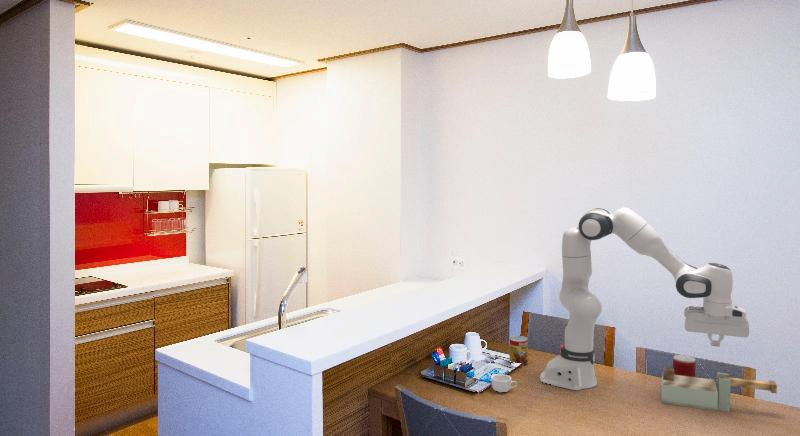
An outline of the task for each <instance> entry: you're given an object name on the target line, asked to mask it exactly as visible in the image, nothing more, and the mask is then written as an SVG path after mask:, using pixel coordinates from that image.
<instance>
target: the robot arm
mask: <svg viewBox="0 0 800 436" xmlns="http://www.w3.org/2000/svg"><path fill="white" fill-rule="evenodd" d="M611 234H614V235H616V236H617V237H618V238H620V239H621V240H622V242H623V243H625V244H626V246H627V247H629V248H630V249H631V250H633V251H634V252H636V253H637V254H639V255H641V256H648V257H651V258H652V259H654V260H655V261H657V262H658V263H659V264H660V265H662V267H664V268H665V270H667V271H668V272H669V273H671V275H672V276H673V278H674V281H675V289H676V291H677V292H678V294H679V295H681V296H683V297H684V298H687V299H698V298H699V299H700V298H703V302H702V306H694V305H692V306H691V305H690V306H687V307H686V308H684V311H683V316H684V318H685V319H684V330H685V331H686V332H690V333H691V332H692V333H698V334H699V333H700V334H706V335H707V337H708V339H709V341H710V344H709V345H710V346H711V347H718V348H720V347H721V342H722V341H723V340H724V339H725V336H728V337H739V338H748V337H749V336H750V324H749V320H748V319H747V311H746V310H745V309H744V308H742V307H740V306H737V305H735V304H733V303H732V301H733V300H732V292H733V281H734V279H733V272H732V270H731V269H730V268H729V267H728V266H727V265H724V264H720V263H718V262H717V263H716V262H708V263H707V264H706V265H703V266H701V267H696V266H694V265H691V264H688V263H686V262H685V261H683V259H681V258H680V257H679V256H678V255H677V254H676V253H674V252H673V251H672V249H670V248H669V247H668V246H667V245H666V243H665V242H664V241H663V239H662V238H661V236H660V234H659V233H658V232H657V231H656V230H655V229H654V228H653V226H652V225H651V224H650V223H649V222H648V221H646V219H644V218H643V217H642V216H641V215H640V214H638V212H637V213H636V212H635V211H634V210H632V209H631V208H629V207H620V208H618V209H616V210H614V211H613V212H612V213H610V212H609V211H608V210H606V209H605V208H601V207H598V208H597V207H596V208H593V209H592V210H591V209H590V210H589V211H587V212H586V213H584V215H583V216H581V218H580V219H579V221H578V226H574V227H569V228H567V229H566V230H564V231H563V233H562V239H561V241H562V242H561V260H562V283H561V290H560V291H559V293H558V294H559V296H558V297H559V301H560V303H561V305H562V306H563V308H565V309H566V310H567V311H568V312H569V317H568V322H567V325H566V326H565V328H564V343H563V344H560V346H559V355H557V356H556V357H553V358H552V359H550V360H549V361H548V362H547V364H546V367H545V370H543V371H542V372H541V373H540V374H539V381H540V382H541V383H542V382H543V383H542V384H545V383H547V384H546V385H549V384H551V385H550V386H554V387H559V388H563V389H569V390H572V391H581V390H586V389H593V388H594V387H596V386H597V385H598V382H597V378H596V374H595V367H594V364H595V357H596V355H595V349H594V332H595V327H596V326H595V325H596V323H597V319H598V318H599V317H600V315H601V313H602V304H601V302H600V300H599V299H598V297H597V296H596V295H595V294H594V293H592V292H590V291H589V283H590V278H591V277H592V274H593V265H592V253H591V242H592V241H597V240H598V241H599V240H601V239H602V238H605V237H607V236H609V235H611ZM713 335H718V337H719V338H718V340H715V339H714V340H713V338H712V337H713Z"/></svg>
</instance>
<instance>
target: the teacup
mask: <svg viewBox="0 0 800 436" xmlns="http://www.w3.org/2000/svg"><path fill="white" fill-rule="evenodd" d="M490 377H491V387H492V389H493V390H494V391H495V392H496V391H498V392H506V393H507V392H509V391H510V390H511V389H514V388H516V387H517V386H518V383H517V381H516V380H512V377H511V376H510V375H507V374H504V373H503V374H502V373H496V374H493V375H491V376H490ZM513 383H515V385H514V386H512V384H513ZM498 392H497V393H498Z"/></svg>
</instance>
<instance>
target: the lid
mask: <svg viewBox="0 0 800 436" xmlns="http://www.w3.org/2000/svg"><path fill="white" fill-rule="evenodd" d="M662 369H663V371H662V376H663V385H668V386H675V387H683V388H690V389H698V390H705V391H713V392H717V384H716V381H715V380H714V379H711V378H702V377H696V376H695V377H689V376H681V375H674V368H673V366H671V367H669V366H663V367H662ZM715 384H716V385H715Z"/></svg>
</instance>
